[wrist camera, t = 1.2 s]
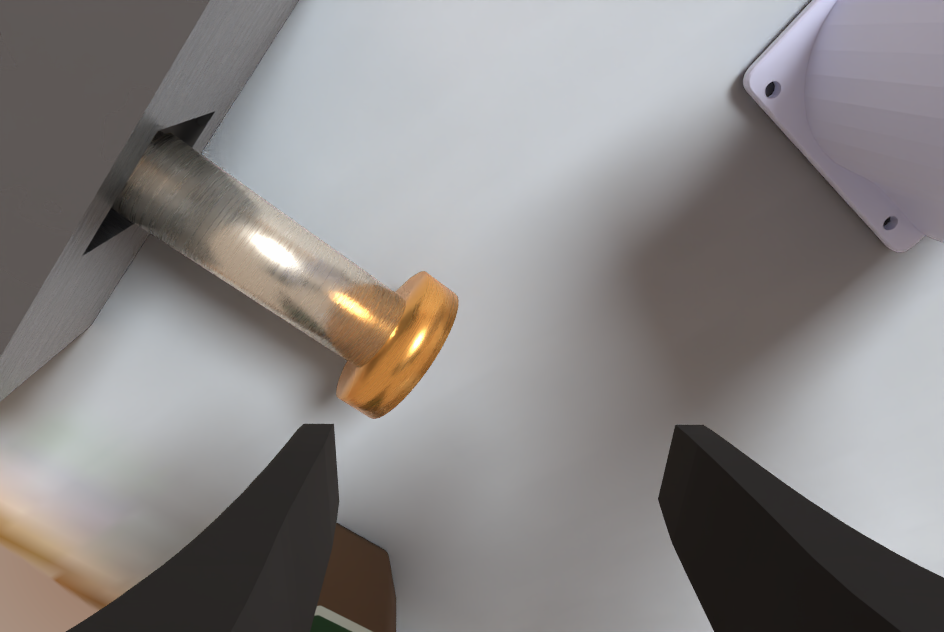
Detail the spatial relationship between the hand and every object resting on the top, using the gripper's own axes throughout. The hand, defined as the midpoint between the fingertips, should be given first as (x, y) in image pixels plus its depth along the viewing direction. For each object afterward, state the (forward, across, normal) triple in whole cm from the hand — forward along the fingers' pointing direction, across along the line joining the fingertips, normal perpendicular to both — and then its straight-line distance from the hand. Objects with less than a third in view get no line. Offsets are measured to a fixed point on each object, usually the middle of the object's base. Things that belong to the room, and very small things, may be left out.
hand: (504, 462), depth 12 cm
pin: (+9, +6, -2) cm, 11 cm away
